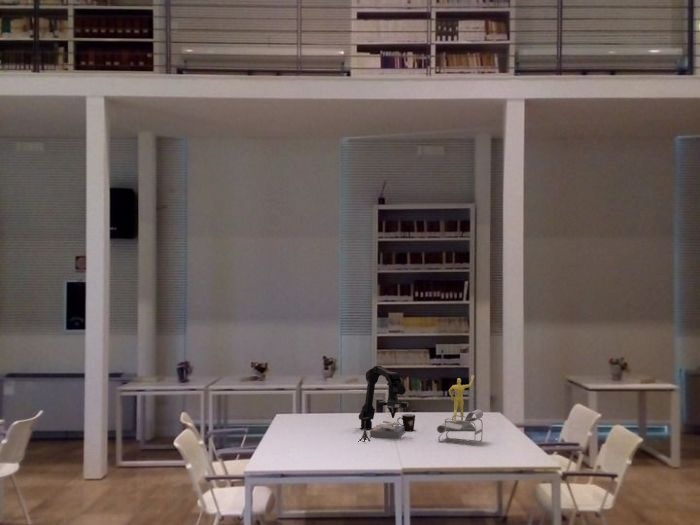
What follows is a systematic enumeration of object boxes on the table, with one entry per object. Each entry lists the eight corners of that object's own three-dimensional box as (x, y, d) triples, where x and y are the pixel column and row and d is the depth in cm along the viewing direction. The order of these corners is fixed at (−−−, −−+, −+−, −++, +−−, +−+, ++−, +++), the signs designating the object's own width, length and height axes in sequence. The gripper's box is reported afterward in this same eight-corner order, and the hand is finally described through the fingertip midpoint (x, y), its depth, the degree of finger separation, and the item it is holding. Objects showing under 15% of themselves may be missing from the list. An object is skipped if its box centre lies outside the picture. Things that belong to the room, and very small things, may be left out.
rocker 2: (382, 422, 515) (383, 420, 515) (384, 421, 519) (384, 419, 519) (398, 425, 512) (398, 423, 512) (399, 424, 516) (399, 422, 516)
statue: (472, 426, 541) (471, 373, 542) (477, 431, 521) (477, 376, 522) (442, 426, 540) (441, 373, 541) (446, 431, 521) (446, 376, 522)
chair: (476, 446, 474) (476, 412, 475) (436, 442, 486) (436, 409, 486) (483, 442, 486) (483, 409, 487) (444, 438, 498) (444, 406, 498)
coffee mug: (415, 429, 528) (415, 414, 528) (415, 431, 519) (415, 416, 519) (397, 429, 529) (397, 413, 529) (397, 431, 520) (397, 416, 521)
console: (370, 437, 500) (370, 428, 500) (377, 431, 522) (377, 422, 522) (398, 438, 496) (398, 429, 496) (404, 432, 517) (404, 423, 517)
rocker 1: (378, 426, 501) (378, 424, 501) (379, 425, 505) (380, 423, 505) (394, 429, 499) (394, 427, 499) (395, 428, 503) (395, 426, 503)
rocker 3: (381, 427, 508) (380, 425, 508) (382, 426, 512) (382, 424, 512) (396, 424, 506) (395, 422, 506) (397, 423, 509) (397, 421, 510)
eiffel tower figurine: (358, 439, 497) (358, 417, 498) (374, 439, 496) (374, 418, 496) (353, 443, 483) (354, 421, 483) (370, 444, 481) (370, 422, 481)
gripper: (375, 394, 496) (375, 419, 496) (405, 395, 492) (405, 420, 491) (379, 391, 507) (379, 416, 507) (408, 392, 503) (408, 417, 502)
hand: (393, 418), depth 501 cm, fingers closed
